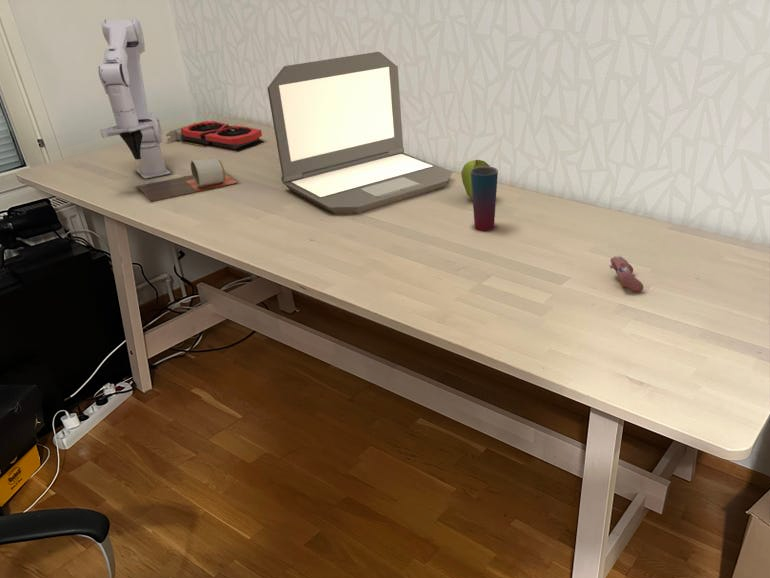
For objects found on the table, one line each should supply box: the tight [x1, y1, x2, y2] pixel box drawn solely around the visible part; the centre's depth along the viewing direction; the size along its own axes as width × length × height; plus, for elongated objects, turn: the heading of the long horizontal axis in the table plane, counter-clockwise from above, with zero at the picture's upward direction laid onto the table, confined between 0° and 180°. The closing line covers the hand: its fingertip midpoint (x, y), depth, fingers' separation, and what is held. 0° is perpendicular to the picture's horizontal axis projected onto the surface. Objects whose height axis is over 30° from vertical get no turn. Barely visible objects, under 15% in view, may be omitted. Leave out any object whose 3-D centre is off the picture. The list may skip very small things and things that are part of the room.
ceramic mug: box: [190, 157, 226, 187], centre depth 207 cm, size 11×8×8 cm
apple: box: [461, 159, 491, 201], centre depth 193 cm, size 9×8×12 cm
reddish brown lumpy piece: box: [609, 255, 644, 293], centre depth 152 cm, size 10×5×7 cm, turn 5°
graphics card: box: [165, 120, 264, 152], centre depth 244 cm, size 20×32×4 cm, turn 57°
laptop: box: [267, 51, 454, 215], centre depth 196 cm, size 43×31×34 cm
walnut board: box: [137, 173, 238, 203], centre depth 208 cm, size 15×25×1 cm, turn 126°
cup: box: [471, 165, 499, 232], centre depth 176 cm, size 7×7×15 cm
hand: (137, 158), depth 199 cm, fingers closed
